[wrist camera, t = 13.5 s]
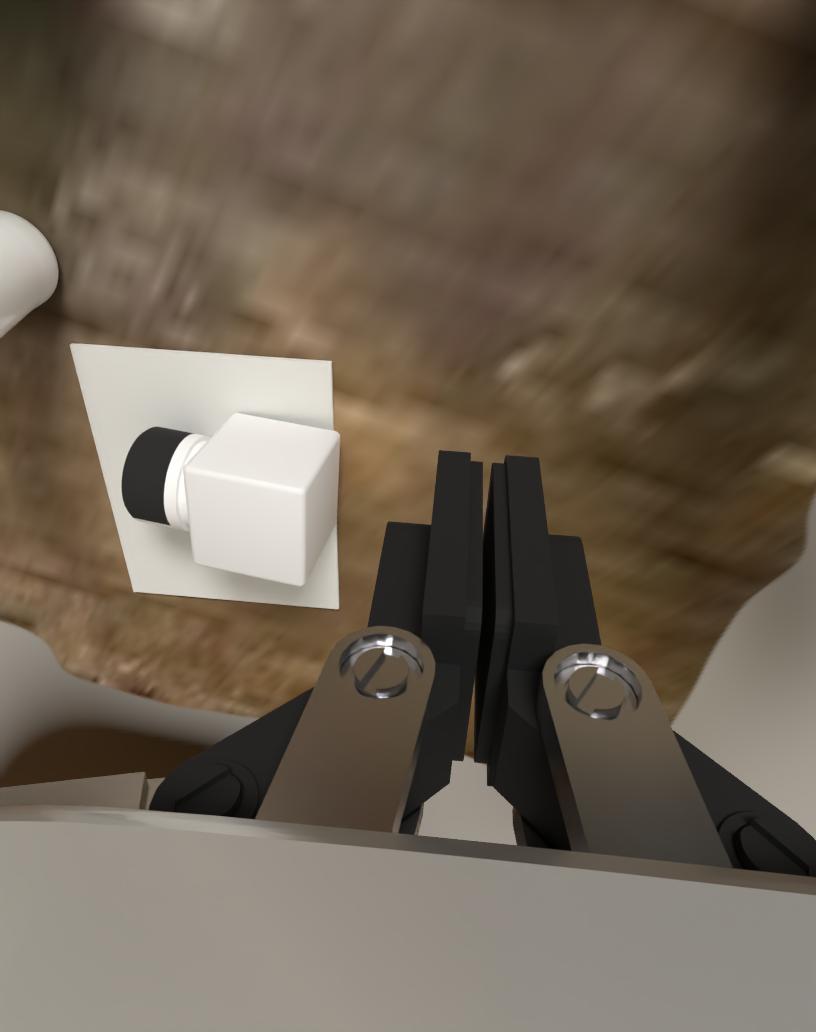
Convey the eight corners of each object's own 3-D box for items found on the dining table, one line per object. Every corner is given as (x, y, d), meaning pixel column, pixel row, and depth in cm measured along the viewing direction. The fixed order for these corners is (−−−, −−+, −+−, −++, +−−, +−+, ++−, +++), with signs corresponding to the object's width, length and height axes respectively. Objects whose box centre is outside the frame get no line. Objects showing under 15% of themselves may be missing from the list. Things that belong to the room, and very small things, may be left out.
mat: (332, 361, 42) (331, 363, 42) (339, 606, 54) (338, 609, 53) (72, 343, 43) (69, 345, 43) (135, 589, 54) (133, 591, 54)
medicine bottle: (342, 430, 43) (160, 396, 45) (304, 491, 38) (98, 450, 39) (338, 522, 48) (172, 489, 49) (303, 590, 42) (117, 550, 43)
